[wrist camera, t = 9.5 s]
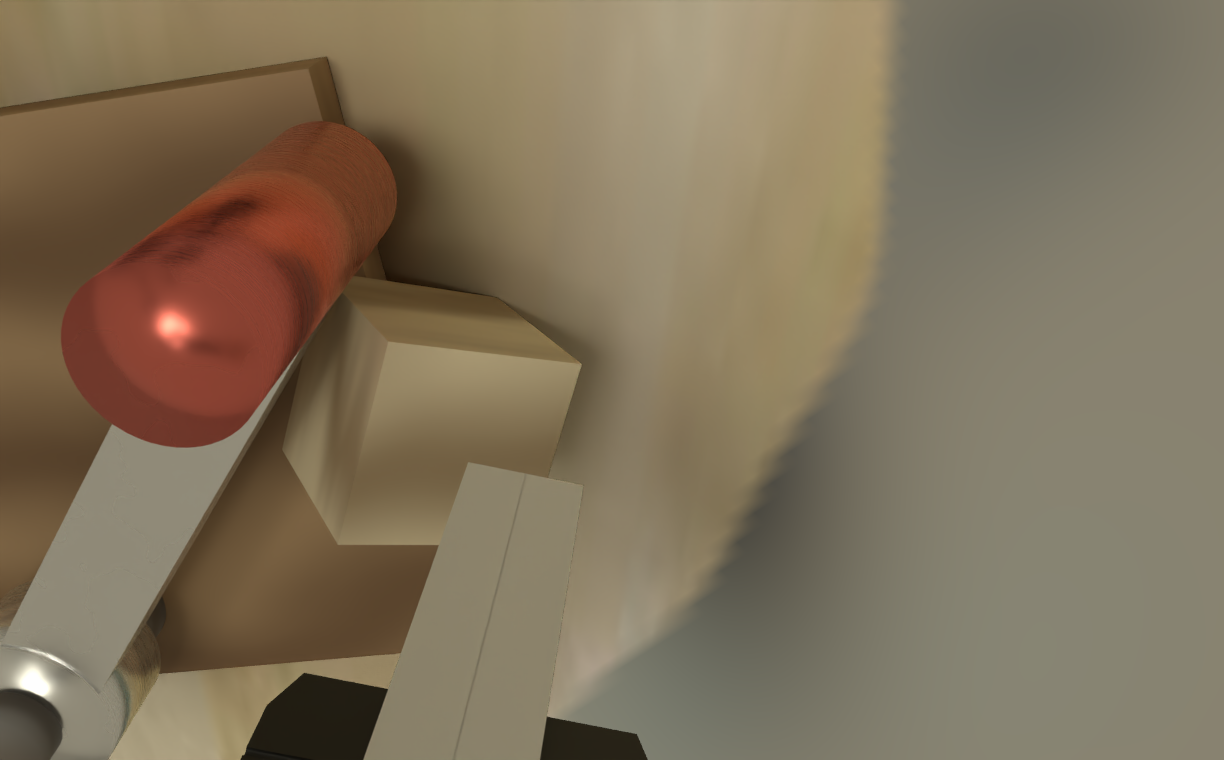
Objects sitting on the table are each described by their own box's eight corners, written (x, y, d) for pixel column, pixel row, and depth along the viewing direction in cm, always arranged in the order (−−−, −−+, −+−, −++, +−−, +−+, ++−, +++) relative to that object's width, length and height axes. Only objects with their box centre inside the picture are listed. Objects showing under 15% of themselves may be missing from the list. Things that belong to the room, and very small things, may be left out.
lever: (262, 68, 24) (46, 191, 16) (456, 192, 25) (348, 367, 17) (-30, 659, 32) (-265, 935, 24) (124, 732, 33) (-53, 1020, 25)
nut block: (322, 271, 27) (387, 341, 23) (496, 297, 30) (581, 363, 26) (282, 449, 28) (337, 544, 24) (452, 458, 31) (526, 545, 27)
